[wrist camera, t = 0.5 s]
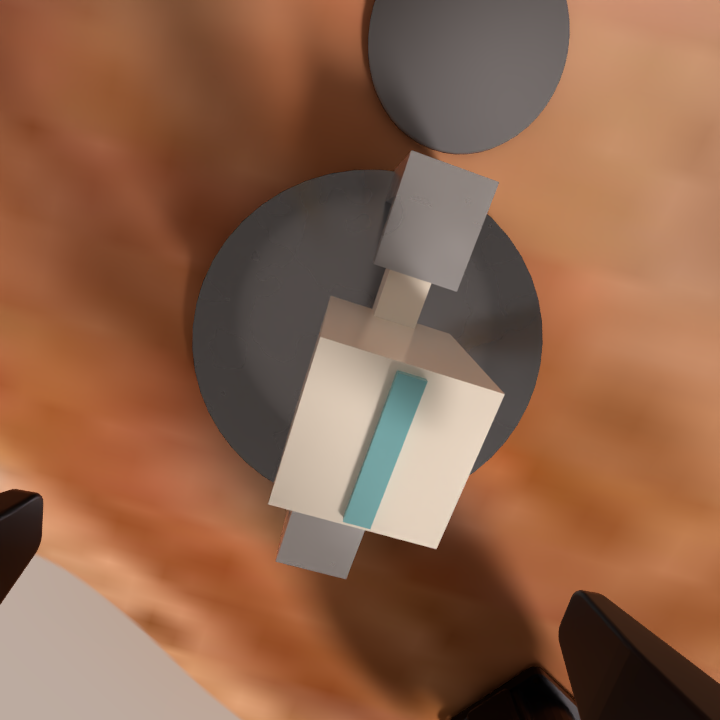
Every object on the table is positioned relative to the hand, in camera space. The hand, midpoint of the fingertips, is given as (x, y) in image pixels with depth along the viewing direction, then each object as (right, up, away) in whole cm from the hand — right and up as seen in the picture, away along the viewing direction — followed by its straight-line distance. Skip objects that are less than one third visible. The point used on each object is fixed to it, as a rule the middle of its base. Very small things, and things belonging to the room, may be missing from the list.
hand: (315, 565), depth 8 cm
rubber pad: (+5, +15, +9) cm, 18 cm away
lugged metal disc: (+1, +4, +12) cm, 12 cm away
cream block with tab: (+1, +3, +9) cm, 10 cm away
